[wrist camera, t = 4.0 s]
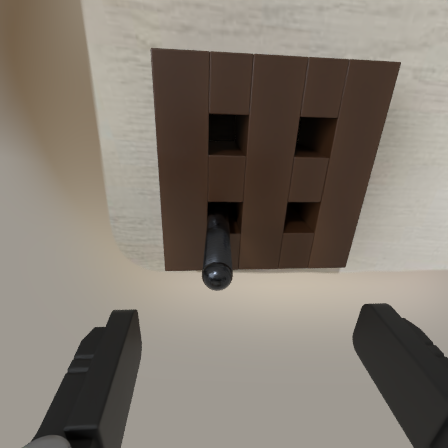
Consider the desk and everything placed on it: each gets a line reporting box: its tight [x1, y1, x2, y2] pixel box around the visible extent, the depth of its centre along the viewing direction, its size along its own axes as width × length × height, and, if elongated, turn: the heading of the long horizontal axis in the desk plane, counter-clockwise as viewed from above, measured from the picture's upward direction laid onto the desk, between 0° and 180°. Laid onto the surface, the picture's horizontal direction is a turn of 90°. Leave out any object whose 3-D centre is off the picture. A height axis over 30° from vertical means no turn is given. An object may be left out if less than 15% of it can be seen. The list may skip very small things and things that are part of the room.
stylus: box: [202, 202, 233, 291], centre depth 18 cm, size 1×1×13 cm
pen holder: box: [151, 48, 401, 271], centre depth 20 cm, size 14×14×6 cm
